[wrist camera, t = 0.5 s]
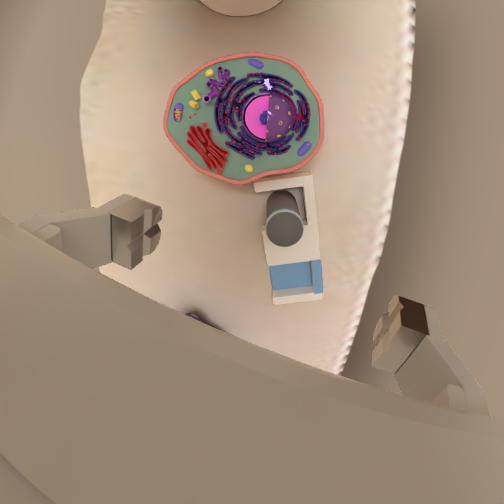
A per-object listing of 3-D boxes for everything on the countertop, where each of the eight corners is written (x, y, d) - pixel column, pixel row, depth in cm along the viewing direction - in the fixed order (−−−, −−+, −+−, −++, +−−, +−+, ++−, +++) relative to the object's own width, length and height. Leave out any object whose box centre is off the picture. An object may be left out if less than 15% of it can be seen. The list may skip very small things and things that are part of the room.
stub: (264, 191, 48) (262, 214, 38) (294, 187, 47) (301, 209, 37) (268, 220, 50) (268, 249, 40) (298, 216, 49) (305, 245, 39)
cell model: (184, 60, 40) (159, 47, 29) (321, 70, 39) (337, 57, 29) (178, 167, 47) (153, 184, 37) (308, 179, 46) (320, 199, 36)
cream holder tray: (254, 179, 47) (253, 183, 44) (310, 171, 46) (313, 175, 43) (273, 297, 56) (273, 306, 53) (321, 291, 55) (323, 300, 52)
